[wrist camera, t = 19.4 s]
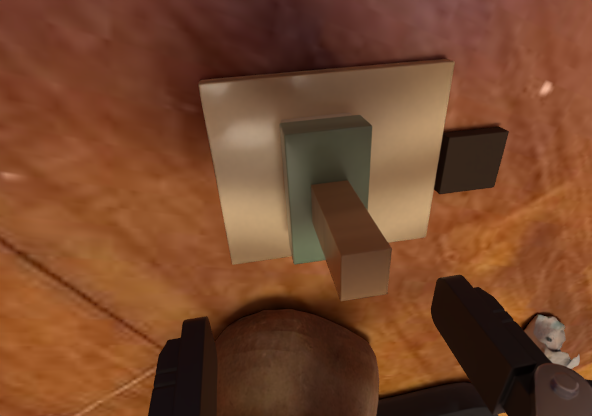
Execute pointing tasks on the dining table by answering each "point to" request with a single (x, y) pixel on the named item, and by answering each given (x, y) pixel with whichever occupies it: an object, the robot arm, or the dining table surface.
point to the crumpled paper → (550, 339)
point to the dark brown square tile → (469, 159)
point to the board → (315, 102)
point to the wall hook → (334, 201)
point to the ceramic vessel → (294, 367)
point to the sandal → (436, 402)
